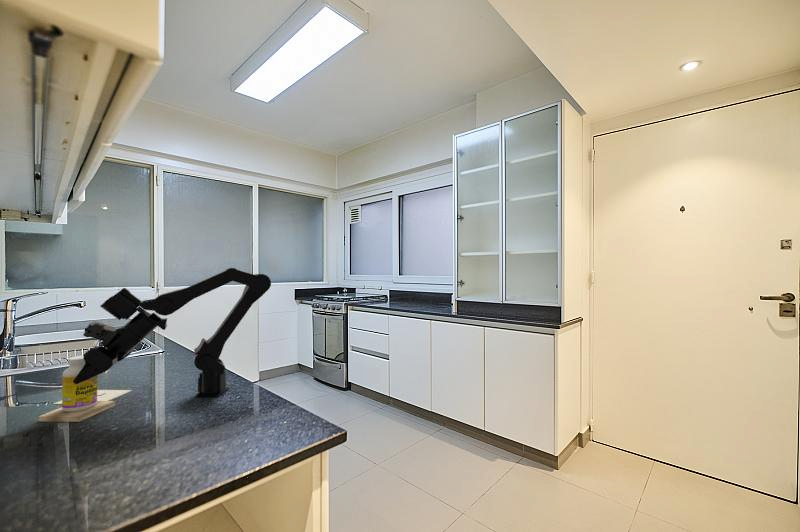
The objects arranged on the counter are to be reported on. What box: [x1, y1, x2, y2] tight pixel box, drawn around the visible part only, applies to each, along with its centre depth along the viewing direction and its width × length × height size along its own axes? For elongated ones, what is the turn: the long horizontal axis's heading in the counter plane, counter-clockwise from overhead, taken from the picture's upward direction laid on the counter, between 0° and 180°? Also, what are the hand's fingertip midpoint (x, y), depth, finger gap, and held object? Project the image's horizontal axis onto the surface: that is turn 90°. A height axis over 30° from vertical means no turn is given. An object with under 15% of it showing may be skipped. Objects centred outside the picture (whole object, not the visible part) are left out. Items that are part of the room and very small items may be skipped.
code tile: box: [52, 389, 133, 405], centre depth 100 cm, size 13×11×1 cm
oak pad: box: [38, 400, 116, 423], centre depth 89 cm, size 10×10×1 cm
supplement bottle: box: [61, 355, 98, 412], centre depth 89 cm, size 7×7×13 cm
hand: (82, 377), depth 89 cm, fingers open, 9 cm apart
